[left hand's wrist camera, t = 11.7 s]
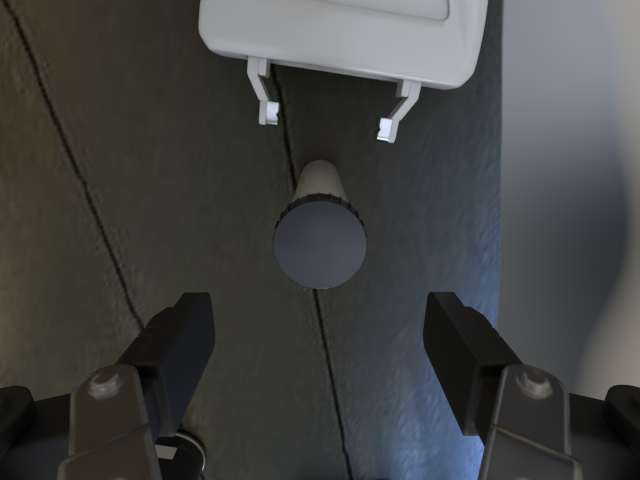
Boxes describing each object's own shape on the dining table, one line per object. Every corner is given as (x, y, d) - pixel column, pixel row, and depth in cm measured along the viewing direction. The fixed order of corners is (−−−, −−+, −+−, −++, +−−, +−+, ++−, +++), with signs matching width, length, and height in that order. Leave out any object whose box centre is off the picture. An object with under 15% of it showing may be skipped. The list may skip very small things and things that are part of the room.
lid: (257, 240, 19) (251, 252, 18) (314, 172, 18) (314, 178, 16) (324, 290, 20) (324, 306, 19) (382, 230, 19) (388, 241, 17)
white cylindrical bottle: (291, 182, 35) (264, 248, 18) (317, 151, 34) (315, 189, 17) (322, 207, 36) (324, 293, 19) (348, 177, 35) (375, 239, 18)
